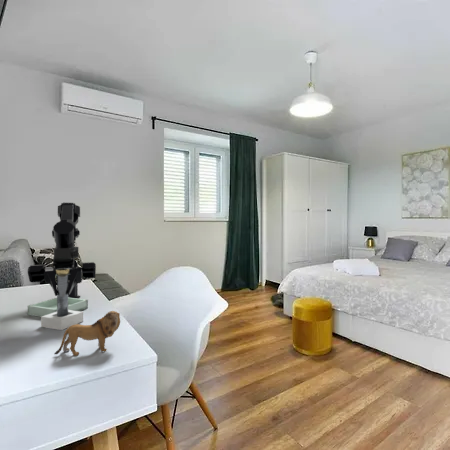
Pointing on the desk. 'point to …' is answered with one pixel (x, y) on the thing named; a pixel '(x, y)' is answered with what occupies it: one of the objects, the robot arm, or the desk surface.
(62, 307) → the pin
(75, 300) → the tray
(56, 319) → the socket block
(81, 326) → the lion figurine
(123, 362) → the desk surface
